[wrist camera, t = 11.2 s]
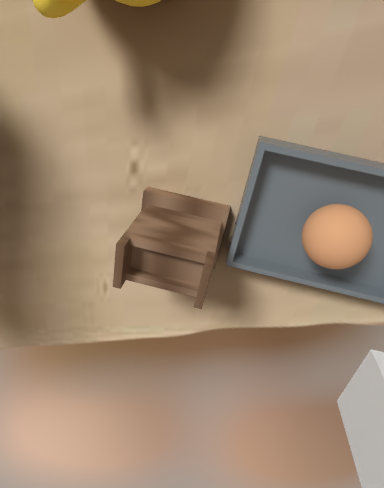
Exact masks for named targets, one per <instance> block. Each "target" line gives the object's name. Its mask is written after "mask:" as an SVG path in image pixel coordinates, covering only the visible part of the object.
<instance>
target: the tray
mask: <svg viewBox="0 0 384 488" xmlns="http://www.w3.org/2000/svg"><path fill="white" fill-rule="evenodd" d="M331 204H344V205H348V206H351V207H354V208H356V209H357V210H359V211H360V212H361V213H363V214H364V215H365V217H366V218H367V219H368V221H369V223H370V225H371V227H372V232H373V240H372V245H371V248H370V250H369V252H368V253H367V255H366V256H365V257H364V258H363V259H362V260H361V261H360V262H359V263H357V264H355V265H353V266H351V267H348V268H345V269H329V268H325V267H322V266H320V265H318V264H317V263H315V262H314V261H313V260H311V259H310V257H309V256H308V255H307V253H306V252H305V250H304V248H303V245H302V229H303V226H304V224H305V222H306V220H307V219H308V217H309V216H310V215H311V214H312V213H313V212H315V211H316V210H317V209H319V208H321V207H323V206H326V205H331ZM226 266H231V267H235V268H239V269H243V270H247V271H251V272H255V273H259V274H263V275H267V276H272V277H276V278H280V279H284V280H288V281H292V282H296V283H300V284H304V285H309V286H313V287H317V288H321V289H325V290H329V291H333V292H337V293H341V294H345V295H350V296H354V297H358V298H362V299H366V300H370V301H374V302H378V303H382V304H384V163H380V162H376V161H371V160H366V159H362V158H357V157H353V156H348V155H344V154H339V153H335V152H330V151H326V150H321V149H317V148H312V147H308V146H303V145H299V144H294V143H290V142H285V141H281V140H276V139H271V138H267V137H262V136H259V139H258V143H257V147H256V150H255V154H254V157H253V161H252V165H251V168H250V172H249V176H248V179H247V183H246V187H245V190H244V194H243V197H242V201H241V205H240V208H239V212H238V216H237V219H236V223H235V227H234V230H233V234H232V237H231V241H230V245H229V248H228V252H227V259H226Z"/></svg>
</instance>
